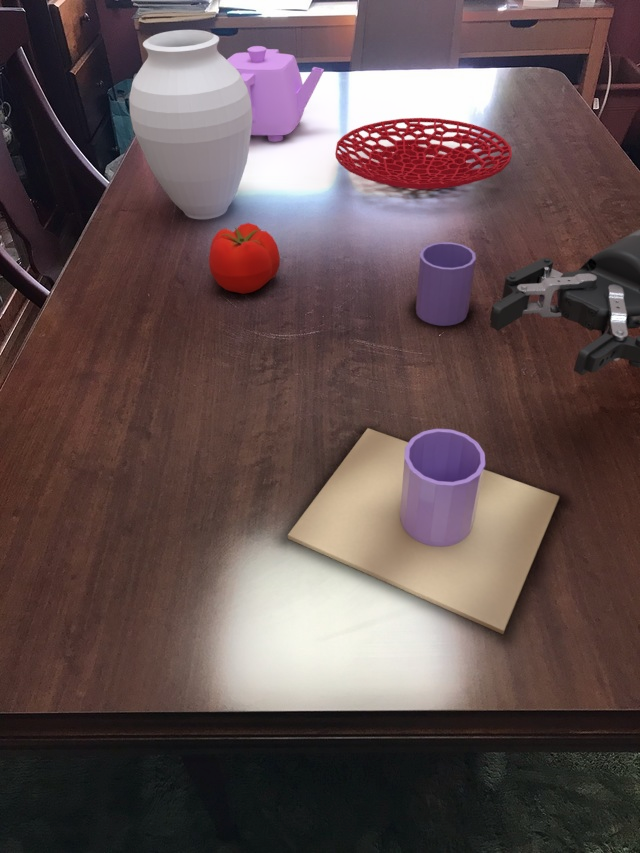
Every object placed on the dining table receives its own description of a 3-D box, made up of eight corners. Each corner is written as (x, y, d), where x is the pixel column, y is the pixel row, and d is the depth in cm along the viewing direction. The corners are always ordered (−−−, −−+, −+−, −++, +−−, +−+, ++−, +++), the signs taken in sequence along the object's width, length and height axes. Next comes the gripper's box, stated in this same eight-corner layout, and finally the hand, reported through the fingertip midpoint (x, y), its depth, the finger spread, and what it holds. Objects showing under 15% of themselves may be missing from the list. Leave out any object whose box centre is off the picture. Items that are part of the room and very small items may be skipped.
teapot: (200, 128, 140) (188, 45, 129) (276, 108, 147) (271, 29, 137) (248, 157, 128) (239, 69, 118) (327, 134, 135) (326, 50, 125)
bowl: (357, 140, 133) (357, 113, 129) (513, 152, 126) (517, 123, 123) (315, 205, 112) (314, 175, 109) (499, 223, 106) (504, 192, 102)
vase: (241, 239, 104) (221, 58, 87) (132, 230, 107) (92, 53, 90) (273, 190, 117) (260, 23, 100) (174, 183, 120) (146, 21, 103)
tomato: (211, 302, 91) (203, 251, 86) (215, 268, 98) (208, 219, 93) (281, 299, 91) (277, 248, 86) (281, 265, 98) (278, 216, 93)
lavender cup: (483, 506, 63) (496, 444, 58) (457, 558, 59) (468, 496, 54) (417, 481, 66) (423, 419, 60) (387, 529, 62) (391, 467, 56)
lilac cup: (475, 305, 89) (483, 249, 84) (456, 331, 85) (463, 274, 80) (427, 293, 92) (432, 237, 86) (407, 317, 87) (411, 261, 82)
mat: (558, 500, 64) (559, 496, 64) (502, 634, 54) (504, 630, 54) (367, 431, 72) (367, 427, 72) (287, 539, 62) (287, 534, 62)
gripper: (584, 211, 66) (474, 269, 58) (731, 265, 58) (625, 340, 50) (567, 280, 71) (463, 341, 64) (700, 338, 63) (599, 417, 55)
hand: (535, 341), depth 57 cm, fingers open, 8 cm apart
